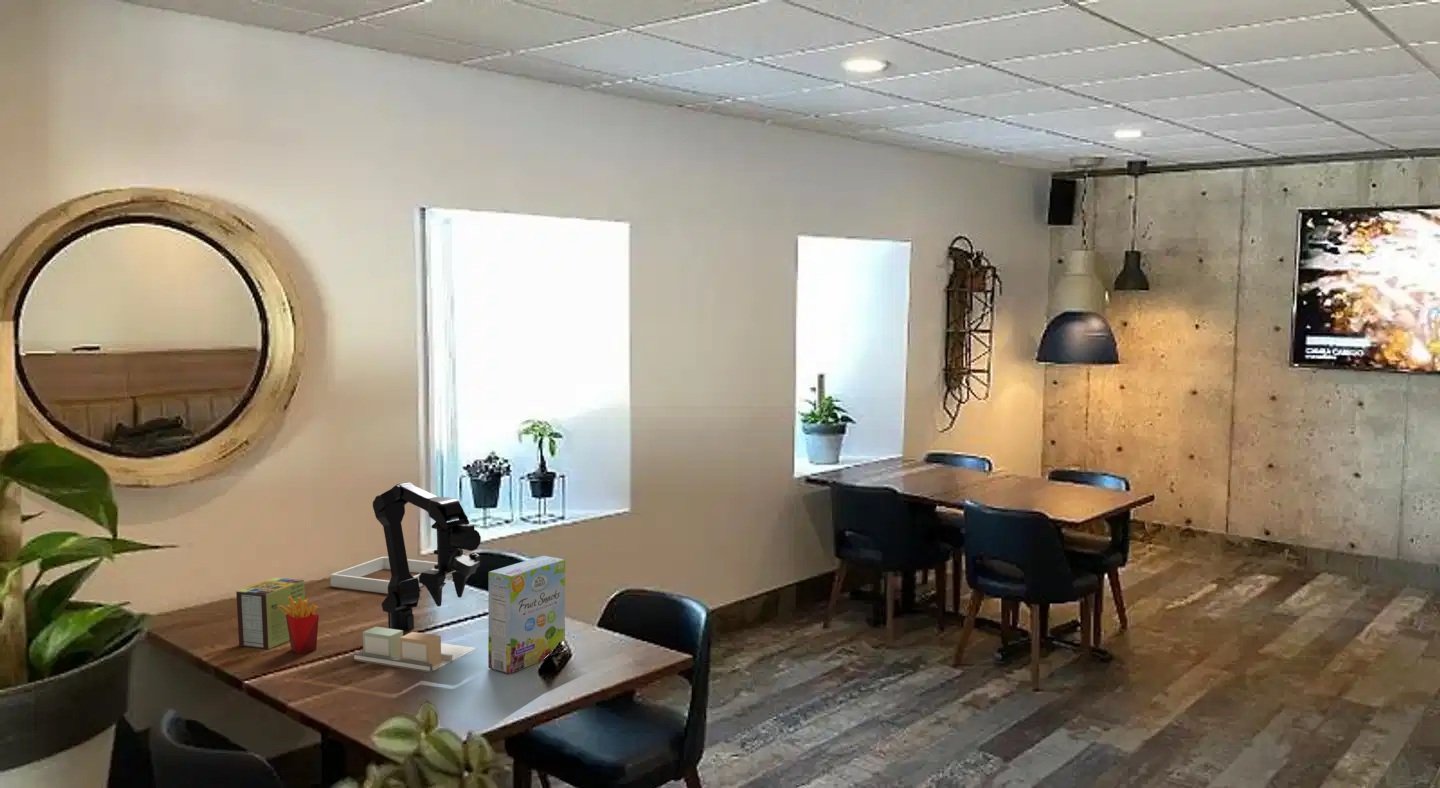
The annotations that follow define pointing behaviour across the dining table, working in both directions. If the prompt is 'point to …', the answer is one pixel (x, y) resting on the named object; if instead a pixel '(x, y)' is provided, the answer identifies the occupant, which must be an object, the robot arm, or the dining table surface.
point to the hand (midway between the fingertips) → (449, 601)
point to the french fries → (302, 625)
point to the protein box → (266, 611)
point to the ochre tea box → (421, 648)
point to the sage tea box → (382, 642)
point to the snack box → (525, 612)
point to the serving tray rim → (354, 578)
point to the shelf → (447, 656)
